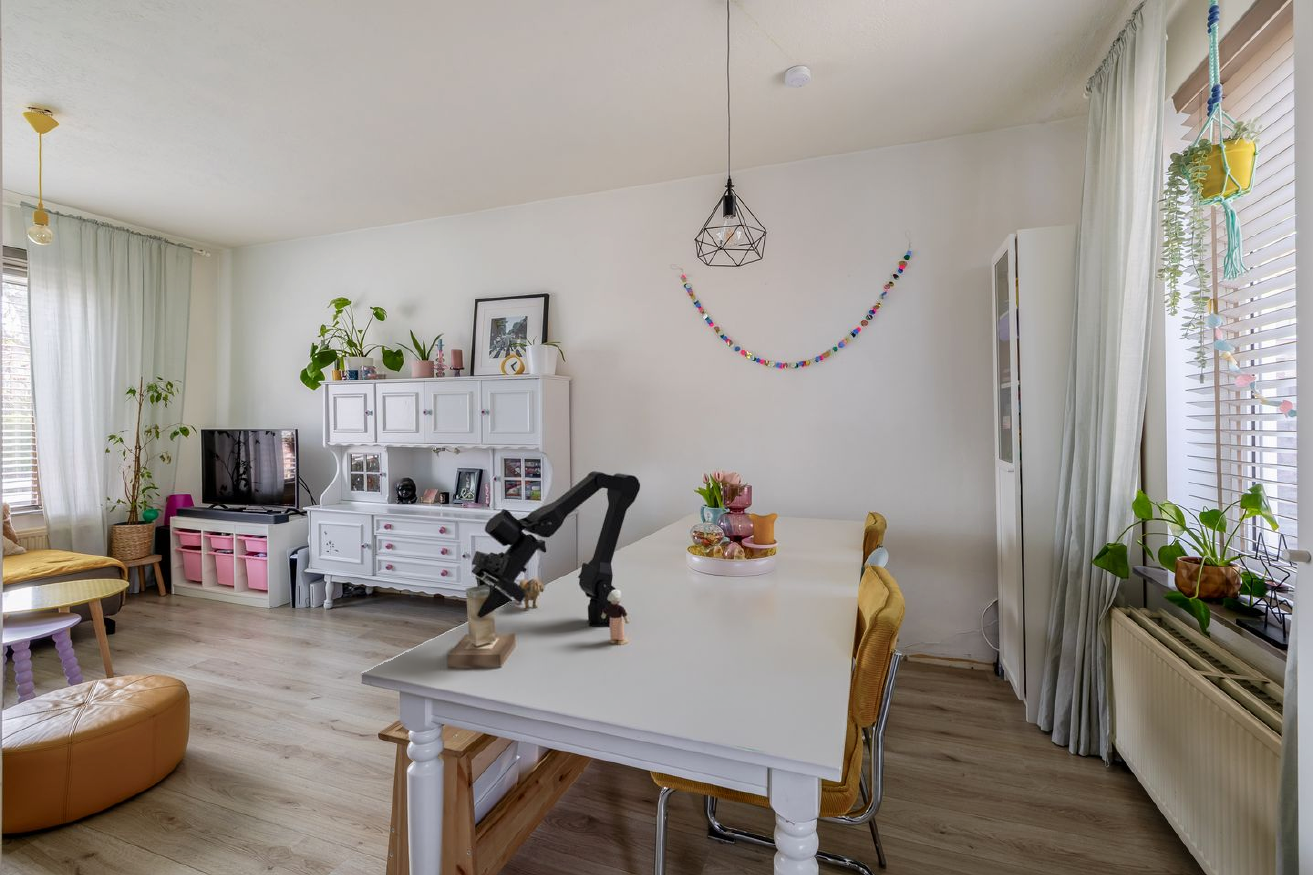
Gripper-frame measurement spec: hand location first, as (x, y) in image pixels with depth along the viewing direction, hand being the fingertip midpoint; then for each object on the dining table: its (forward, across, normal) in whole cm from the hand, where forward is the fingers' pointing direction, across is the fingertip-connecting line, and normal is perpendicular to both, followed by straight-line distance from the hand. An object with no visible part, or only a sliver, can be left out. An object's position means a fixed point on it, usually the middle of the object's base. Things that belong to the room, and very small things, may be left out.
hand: (474, 613), depth 150 cm
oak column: (+4, 0, +6) cm, 7 cm away
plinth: (+6, 0, +8) cm, 11 cm away
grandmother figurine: (-13, +13, +28) cm, 34 cm away
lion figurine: (-10, -25, +26) cm, 37 cm away
